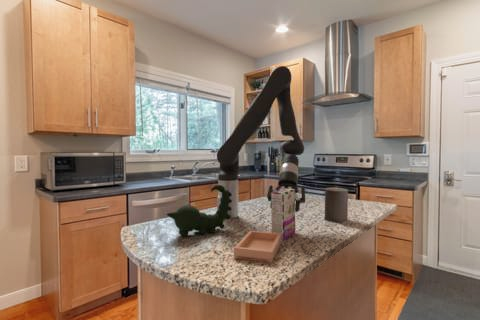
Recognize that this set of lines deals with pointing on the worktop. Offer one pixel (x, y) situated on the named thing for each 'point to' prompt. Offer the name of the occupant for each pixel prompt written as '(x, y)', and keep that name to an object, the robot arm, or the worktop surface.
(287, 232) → the candy bar box
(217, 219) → the toy figurine
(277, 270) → the worktop surface
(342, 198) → the pillar candle
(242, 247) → the terracotta tray
